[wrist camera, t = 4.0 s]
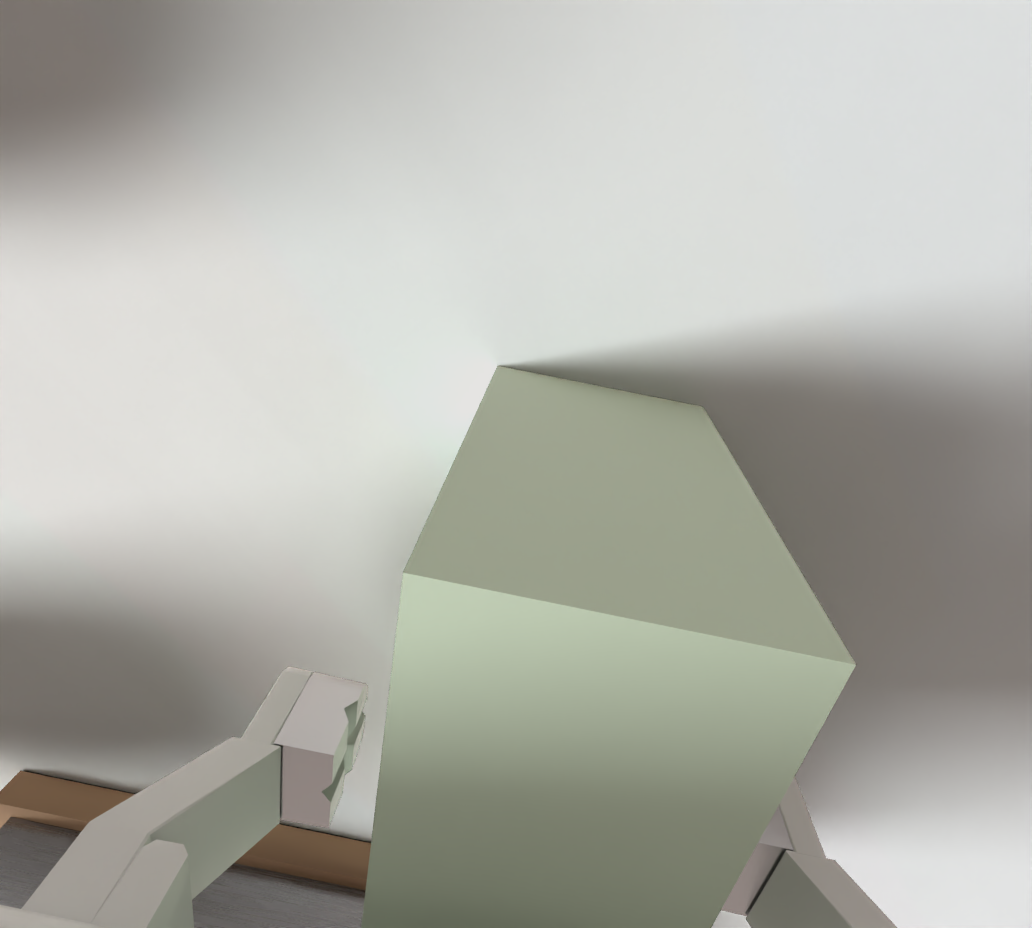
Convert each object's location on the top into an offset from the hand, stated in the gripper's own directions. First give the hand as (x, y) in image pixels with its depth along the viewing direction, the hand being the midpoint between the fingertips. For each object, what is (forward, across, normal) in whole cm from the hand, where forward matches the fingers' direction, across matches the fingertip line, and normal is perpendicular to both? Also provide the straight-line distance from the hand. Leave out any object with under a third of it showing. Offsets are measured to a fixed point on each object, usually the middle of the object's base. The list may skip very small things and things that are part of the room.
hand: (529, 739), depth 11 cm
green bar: (+3, 0, 0) cm, 3 cm away
